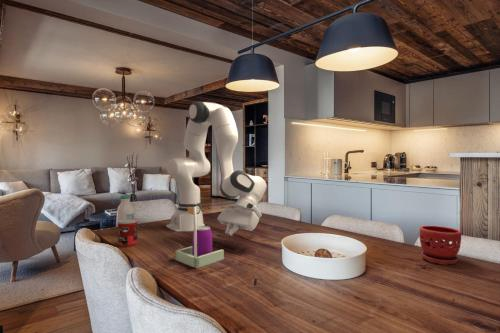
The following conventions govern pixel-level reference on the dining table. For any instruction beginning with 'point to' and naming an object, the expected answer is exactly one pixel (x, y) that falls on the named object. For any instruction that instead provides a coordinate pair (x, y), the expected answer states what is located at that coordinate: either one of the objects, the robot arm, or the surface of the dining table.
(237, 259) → the dining table surface
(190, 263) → the cup corral
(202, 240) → the beverage can
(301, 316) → the dining table surface
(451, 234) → the plant pot
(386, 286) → the dining table surface
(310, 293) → the dining table surface
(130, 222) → the canned food
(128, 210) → the milk bottle
